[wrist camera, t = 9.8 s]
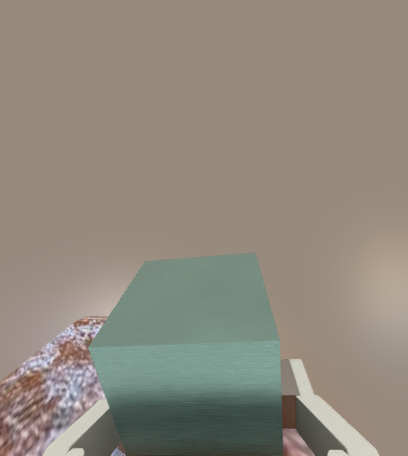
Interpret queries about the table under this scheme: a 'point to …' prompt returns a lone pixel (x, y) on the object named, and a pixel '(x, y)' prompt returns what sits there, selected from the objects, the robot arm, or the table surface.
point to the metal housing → (193, 360)
